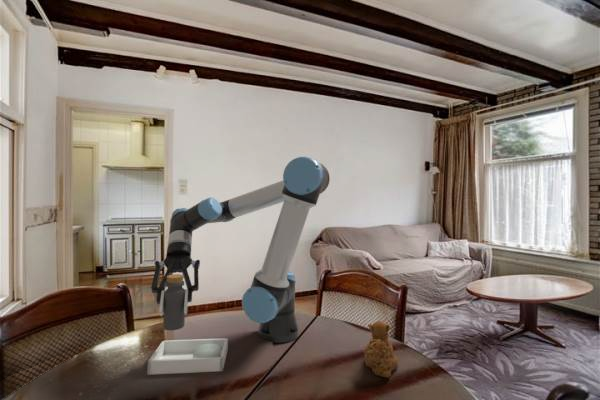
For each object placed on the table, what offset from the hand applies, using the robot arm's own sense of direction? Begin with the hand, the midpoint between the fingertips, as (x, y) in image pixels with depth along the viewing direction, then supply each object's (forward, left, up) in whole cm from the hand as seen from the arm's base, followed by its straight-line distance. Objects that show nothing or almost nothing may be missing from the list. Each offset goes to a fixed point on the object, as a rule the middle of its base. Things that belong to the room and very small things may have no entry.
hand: (173, 312), depth 88 cm
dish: (-9, -3, -15) cm, 18 cm away
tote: (-4, -3, -16) cm, 17 cm away
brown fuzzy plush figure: (-60, +5, -17) cm, 62 cm away
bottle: (+1, -4, -6) cm, 7 cm away
